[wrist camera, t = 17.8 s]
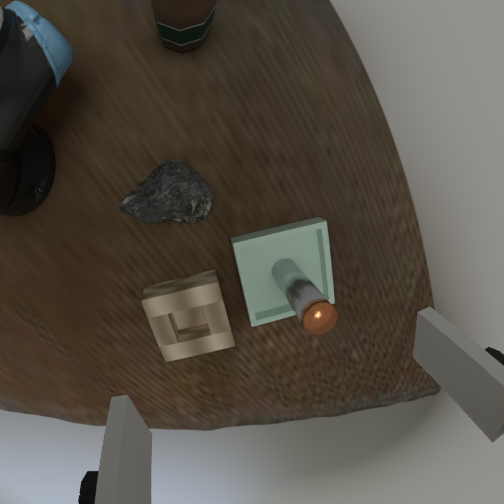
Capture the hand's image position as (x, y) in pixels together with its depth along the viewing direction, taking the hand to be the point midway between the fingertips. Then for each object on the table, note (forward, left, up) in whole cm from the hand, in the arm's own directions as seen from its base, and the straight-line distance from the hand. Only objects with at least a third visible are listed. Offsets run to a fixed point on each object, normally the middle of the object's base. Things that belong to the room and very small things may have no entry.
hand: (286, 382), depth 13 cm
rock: (-6, +3, -39) cm, 40 cm away
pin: (+9, -13, -38) cm, 41 cm away
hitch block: (-8, -16, -39) cm, 43 cm away
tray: (+9, -13, -39) cm, 42 cm away
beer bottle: (+1, +28, -39) cm, 48 cm away
